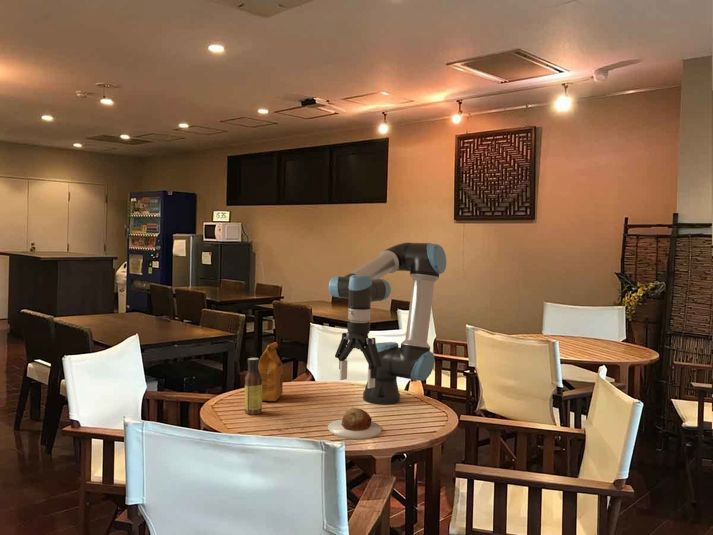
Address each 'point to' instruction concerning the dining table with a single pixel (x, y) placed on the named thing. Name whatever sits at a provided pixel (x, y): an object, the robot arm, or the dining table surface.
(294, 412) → the dining table surface
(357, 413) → the bread roll
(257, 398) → the sauce bottle
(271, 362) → the coffee package
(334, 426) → the plate
